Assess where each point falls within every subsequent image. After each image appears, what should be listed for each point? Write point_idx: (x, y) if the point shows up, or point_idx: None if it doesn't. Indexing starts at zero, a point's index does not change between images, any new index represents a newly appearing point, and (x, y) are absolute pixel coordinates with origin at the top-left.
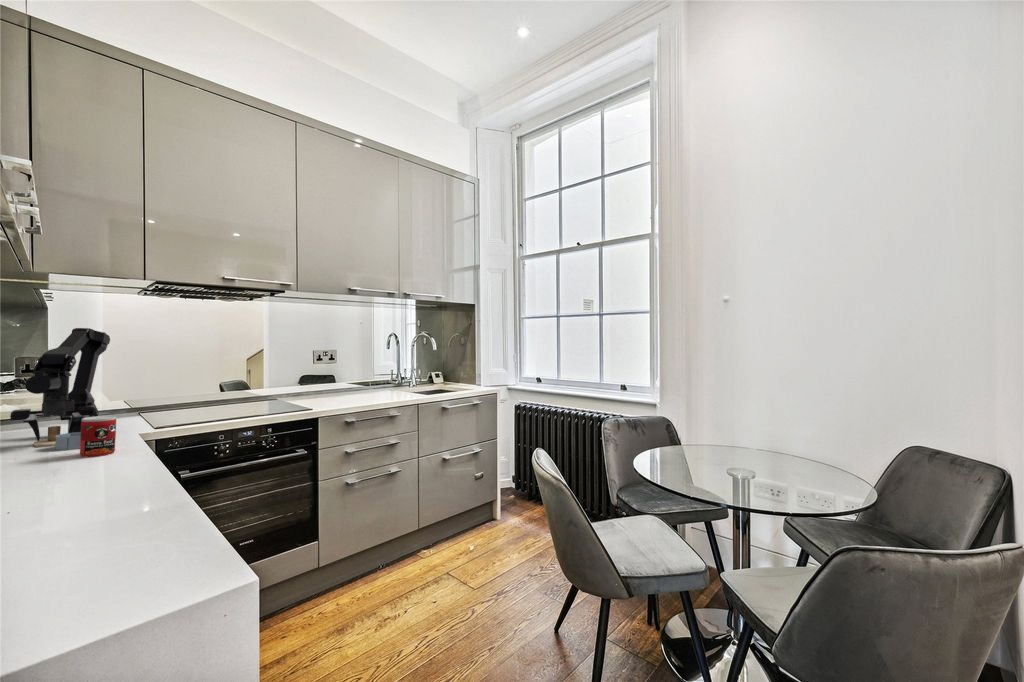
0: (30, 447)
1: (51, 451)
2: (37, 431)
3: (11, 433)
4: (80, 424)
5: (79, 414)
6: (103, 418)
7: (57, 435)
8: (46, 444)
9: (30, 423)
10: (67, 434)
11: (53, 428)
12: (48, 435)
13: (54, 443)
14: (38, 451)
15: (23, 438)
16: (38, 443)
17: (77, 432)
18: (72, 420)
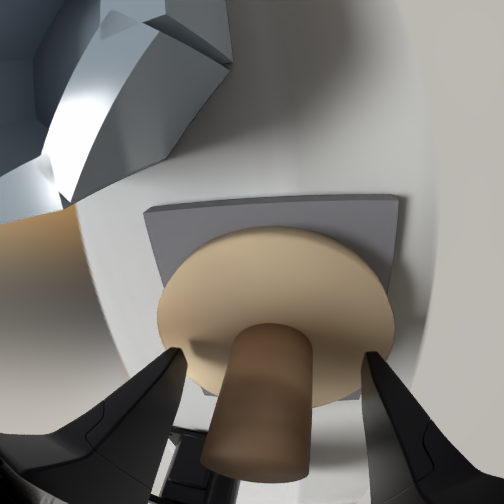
0: (395, 331)
1: (252, 10)
2: (401, 419)
3: (360, 495)
4: (182, 482)
5: (17, 488)
6: None
7: (143, 2)
8: (317, 242)
9: (492, 485)
10: (58, 115)
11: (257, 441)
12: (307, 383)
13: (254, 234)
14: (357, 79)
15: (358, 472)
16: (376, 284)
17: (15, 209)
18: (56, 459)
